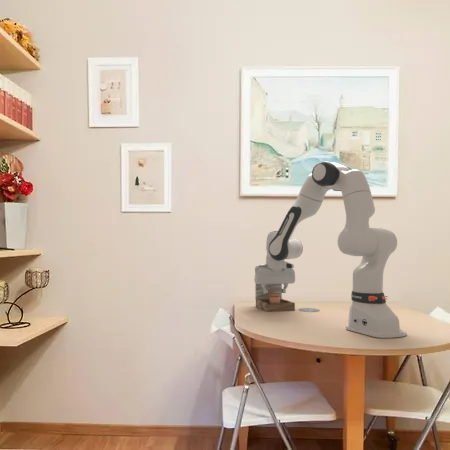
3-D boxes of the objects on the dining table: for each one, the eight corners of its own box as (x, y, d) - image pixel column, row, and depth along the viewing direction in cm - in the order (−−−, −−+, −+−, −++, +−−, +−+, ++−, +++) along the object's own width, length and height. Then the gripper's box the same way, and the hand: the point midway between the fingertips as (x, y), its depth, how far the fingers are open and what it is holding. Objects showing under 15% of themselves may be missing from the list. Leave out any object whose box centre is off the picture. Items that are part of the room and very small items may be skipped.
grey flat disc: (324, 312, 192) (324, 311, 192) (304, 313, 189) (304, 312, 189) (312, 308, 201) (312, 307, 201) (294, 309, 198) (294, 308, 198)
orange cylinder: (281, 309, 197) (282, 294, 197) (272, 309, 195) (272, 294, 195) (277, 307, 201) (277, 293, 202) (267, 307, 200) (267, 293, 200)
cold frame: (295, 311, 194) (295, 273, 194) (266, 312, 189) (267, 273, 190) (281, 306, 208) (281, 270, 208) (254, 307, 203) (255, 270, 204)
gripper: (257, 265, 193) (257, 294, 193) (296, 264, 199) (296, 293, 199) (252, 264, 199) (252, 292, 199) (290, 263, 205) (290, 291, 205)
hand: (274, 293), depth 199 cm, fingers open, 8 cm apart
